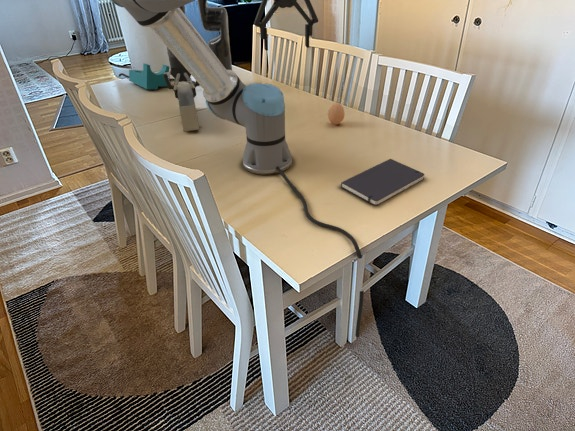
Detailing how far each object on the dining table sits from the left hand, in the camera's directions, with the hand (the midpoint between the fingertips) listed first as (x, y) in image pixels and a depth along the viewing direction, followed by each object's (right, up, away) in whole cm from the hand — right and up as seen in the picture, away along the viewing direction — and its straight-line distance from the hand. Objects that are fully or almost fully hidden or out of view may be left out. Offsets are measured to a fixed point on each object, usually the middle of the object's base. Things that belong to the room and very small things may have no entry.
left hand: (186, 97), depth 160 cm
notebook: (+67, -38, -45) cm, 89 cm away
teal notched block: (-25, +16, +33) cm, 44 cm away
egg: (+58, -13, -11) cm, 60 cm away
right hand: (+40, +8, -28) cm, 50 cm away
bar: (+2, -9, -4) cm, 10 cm away
